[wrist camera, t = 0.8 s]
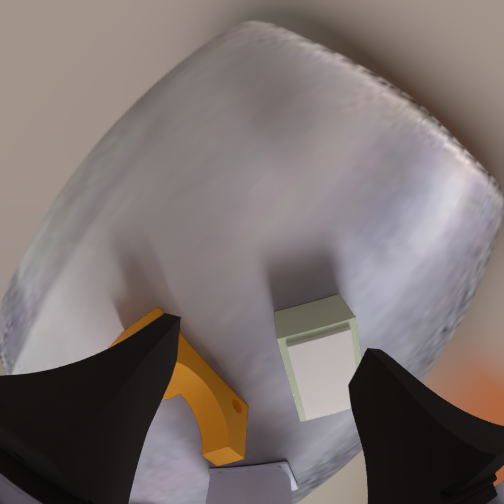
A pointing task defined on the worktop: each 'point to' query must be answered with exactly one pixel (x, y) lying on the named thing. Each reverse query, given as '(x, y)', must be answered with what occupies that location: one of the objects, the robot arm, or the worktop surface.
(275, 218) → the worktop surface
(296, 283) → the worktop surface
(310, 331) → the pale green block
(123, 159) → the worktop surface
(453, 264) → the worktop surface
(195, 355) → the pipe clamp
